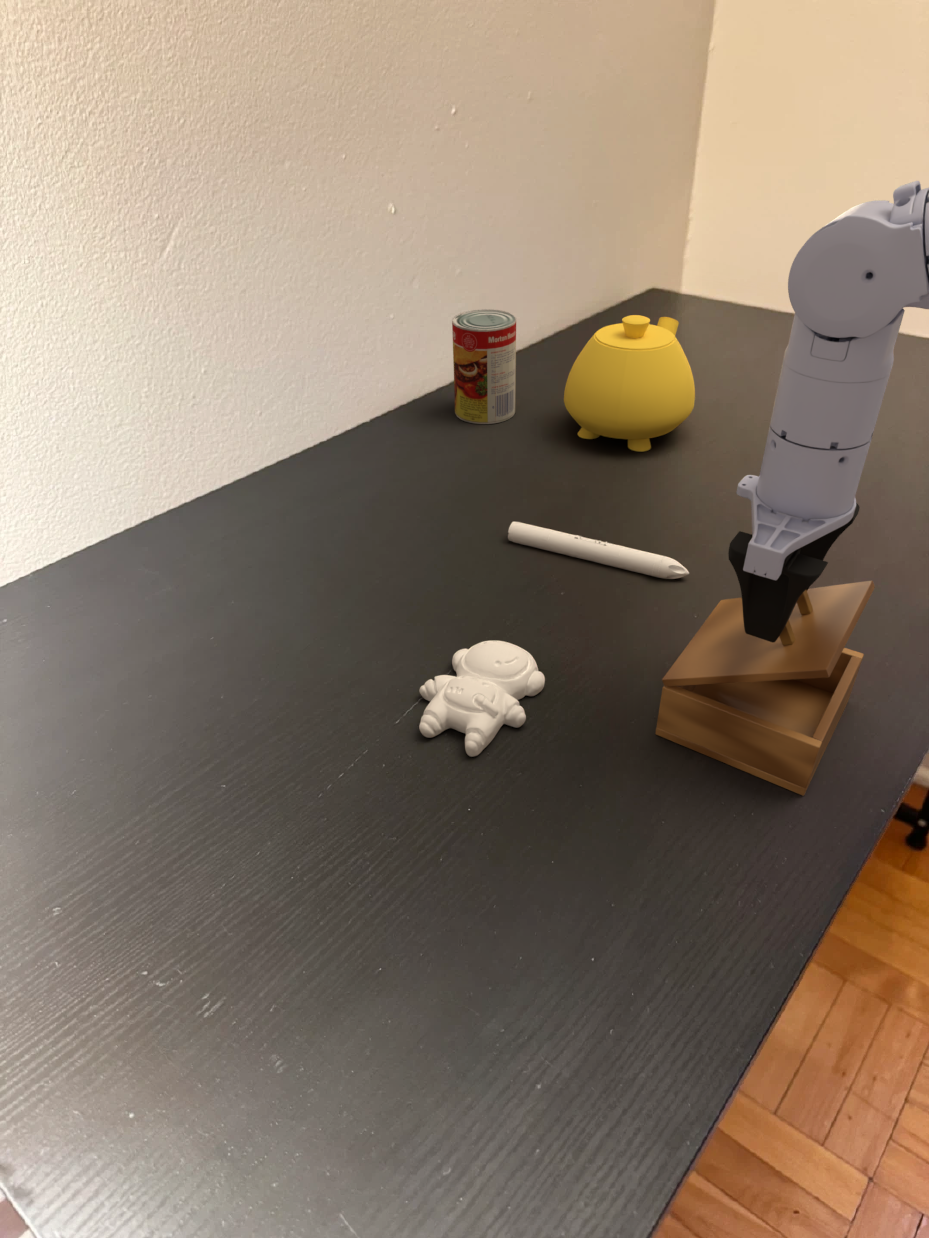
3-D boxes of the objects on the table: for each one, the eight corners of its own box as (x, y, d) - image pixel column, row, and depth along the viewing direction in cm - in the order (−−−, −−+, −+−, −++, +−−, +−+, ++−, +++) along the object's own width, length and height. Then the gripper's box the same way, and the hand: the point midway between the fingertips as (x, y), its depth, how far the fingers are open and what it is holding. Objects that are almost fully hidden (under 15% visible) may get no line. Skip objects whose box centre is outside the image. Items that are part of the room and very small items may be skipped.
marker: (690, 577, 79) (694, 556, 78) (684, 588, 78) (688, 567, 76) (516, 535, 86) (516, 515, 84) (507, 545, 84) (507, 524, 83)
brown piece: (875, 587, 59) (859, 536, 58) (829, 677, 51) (809, 621, 50) (723, 606, 67) (706, 562, 66) (664, 686, 59) (644, 638, 58)
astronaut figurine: (390, 724, 64) (387, 695, 62) (476, 641, 72) (475, 612, 70) (488, 770, 60) (488, 740, 58) (567, 676, 68) (569, 647, 66)
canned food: (480, 395, 115) (478, 305, 107) (527, 409, 110) (529, 316, 103) (442, 414, 110) (438, 321, 102) (490, 429, 106) (490, 334, 98)
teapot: (611, 385, 116) (619, 282, 108) (720, 408, 109) (739, 299, 101) (539, 439, 103) (543, 326, 95) (659, 469, 96) (674, 350, 88)
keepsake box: (848, 700, 65) (864, 653, 62) (803, 796, 57) (819, 747, 55) (712, 652, 70) (721, 606, 67) (654, 734, 62) (662, 686, 60)
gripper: (790, 377, 56) (753, 549, 64) (709, 460, 47) (678, 649, 55) (903, 398, 53) (848, 577, 61) (840, 492, 44) (786, 689, 52)
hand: (774, 613), depth 58 cm, fingers closed on brown piece, 5 cm apart
